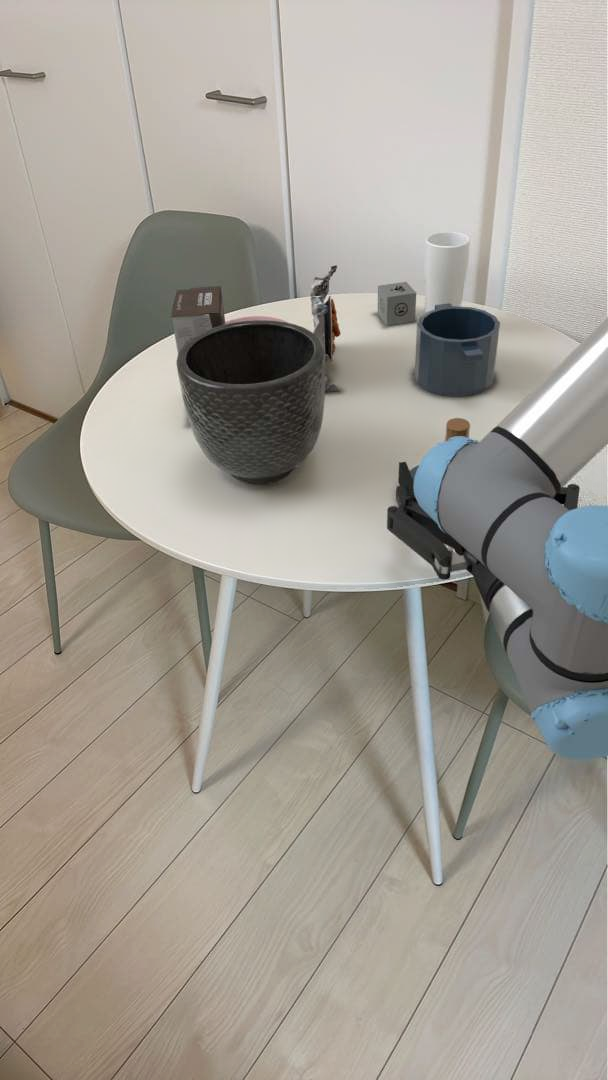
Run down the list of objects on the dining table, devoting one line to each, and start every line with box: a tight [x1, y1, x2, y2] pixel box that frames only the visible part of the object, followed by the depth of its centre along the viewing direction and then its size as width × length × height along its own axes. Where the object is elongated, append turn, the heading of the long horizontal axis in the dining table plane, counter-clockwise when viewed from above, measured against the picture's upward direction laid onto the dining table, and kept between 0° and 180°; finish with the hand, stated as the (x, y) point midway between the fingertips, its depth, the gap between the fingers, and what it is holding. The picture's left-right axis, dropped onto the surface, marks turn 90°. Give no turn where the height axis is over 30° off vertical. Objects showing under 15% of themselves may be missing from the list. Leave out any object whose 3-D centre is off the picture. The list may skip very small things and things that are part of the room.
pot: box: [414, 303, 501, 397], centre depth 109 cm, size 11×17×8 cm
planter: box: [176, 320, 326, 485], centre depth 92 cm, size 17×17×16 cm
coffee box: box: [170, 285, 226, 355], centre depth 104 cm, size 9×6×16 cm
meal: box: [310, 265, 342, 393], centre depth 112 cm, size 15×4×13 cm, turn 0°
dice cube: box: [377, 281, 417, 327], centre depth 127 cm, size 5×5×5 cm
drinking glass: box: [423, 231, 471, 314], centre depth 118 cm, size 7×7×15 cm
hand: (461, 464), depth 84 cm, fingers open, 13 cm apart
